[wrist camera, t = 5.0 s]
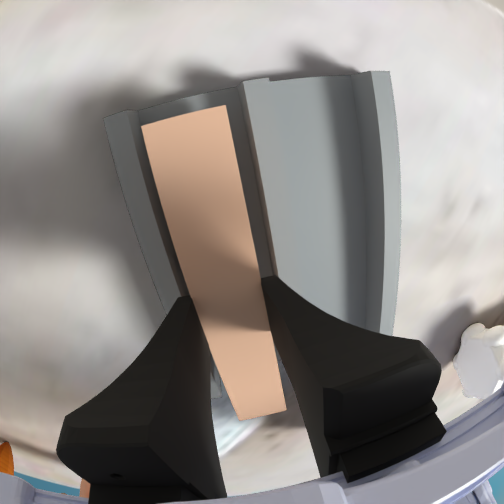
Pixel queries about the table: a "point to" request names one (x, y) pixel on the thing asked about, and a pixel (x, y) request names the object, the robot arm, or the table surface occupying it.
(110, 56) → the table surface
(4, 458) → the carrot
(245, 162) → the rack
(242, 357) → the clay strip
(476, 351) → the white bone
